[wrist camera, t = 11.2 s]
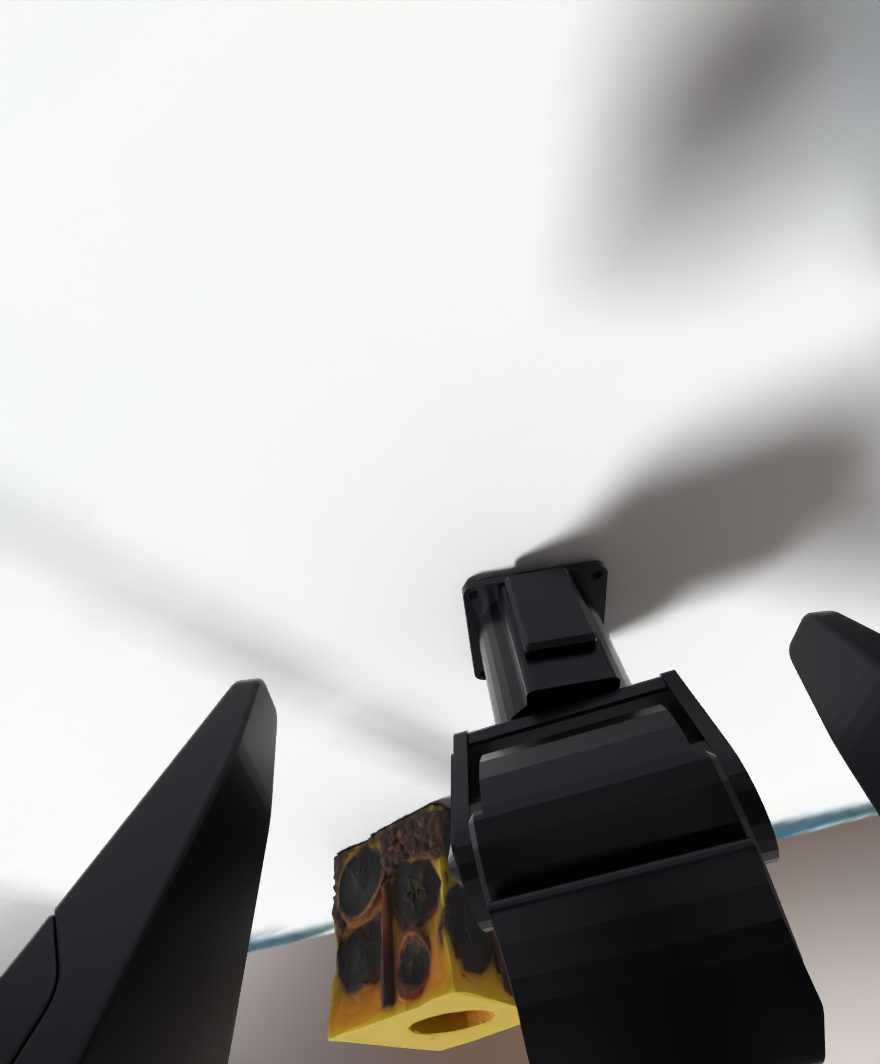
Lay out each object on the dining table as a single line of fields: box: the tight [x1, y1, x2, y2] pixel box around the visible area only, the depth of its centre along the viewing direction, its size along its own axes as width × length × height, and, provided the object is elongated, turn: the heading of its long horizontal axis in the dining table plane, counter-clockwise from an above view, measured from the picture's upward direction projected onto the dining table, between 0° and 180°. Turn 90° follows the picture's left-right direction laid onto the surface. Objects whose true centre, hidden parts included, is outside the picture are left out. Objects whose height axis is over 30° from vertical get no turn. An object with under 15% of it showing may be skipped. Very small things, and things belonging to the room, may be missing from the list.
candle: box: [328, 805, 520, 1051], centre depth 35 cm, size 10×10×10 cm
